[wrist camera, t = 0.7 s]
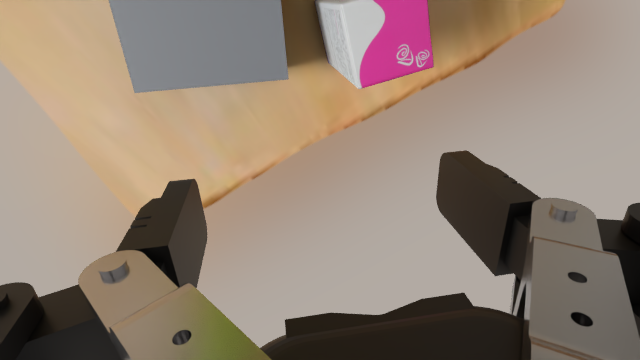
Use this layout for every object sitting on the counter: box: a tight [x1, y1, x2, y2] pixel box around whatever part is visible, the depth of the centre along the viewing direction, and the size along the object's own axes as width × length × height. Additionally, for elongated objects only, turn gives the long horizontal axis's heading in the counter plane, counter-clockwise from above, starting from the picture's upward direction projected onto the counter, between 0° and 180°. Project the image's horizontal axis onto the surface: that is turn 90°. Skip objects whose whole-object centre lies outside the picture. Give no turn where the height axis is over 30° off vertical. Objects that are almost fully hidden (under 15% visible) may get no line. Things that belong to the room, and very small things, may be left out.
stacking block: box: [109, 0, 288, 93], centre depth 29 cm, size 12×12×6 cm
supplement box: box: [315, 0, 433, 89], centre depth 29 cm, size 6×6×12 cm
